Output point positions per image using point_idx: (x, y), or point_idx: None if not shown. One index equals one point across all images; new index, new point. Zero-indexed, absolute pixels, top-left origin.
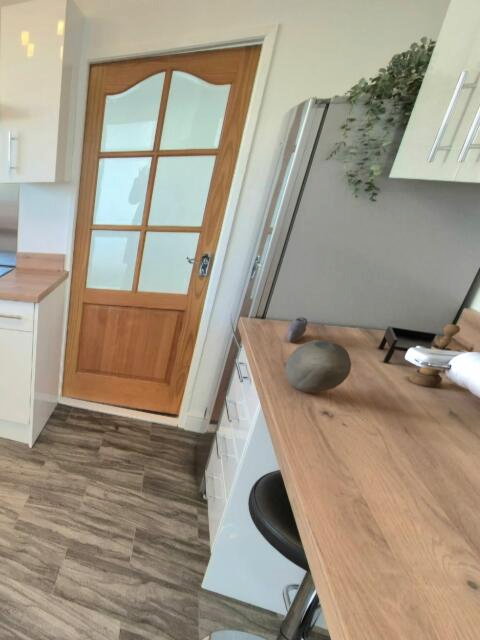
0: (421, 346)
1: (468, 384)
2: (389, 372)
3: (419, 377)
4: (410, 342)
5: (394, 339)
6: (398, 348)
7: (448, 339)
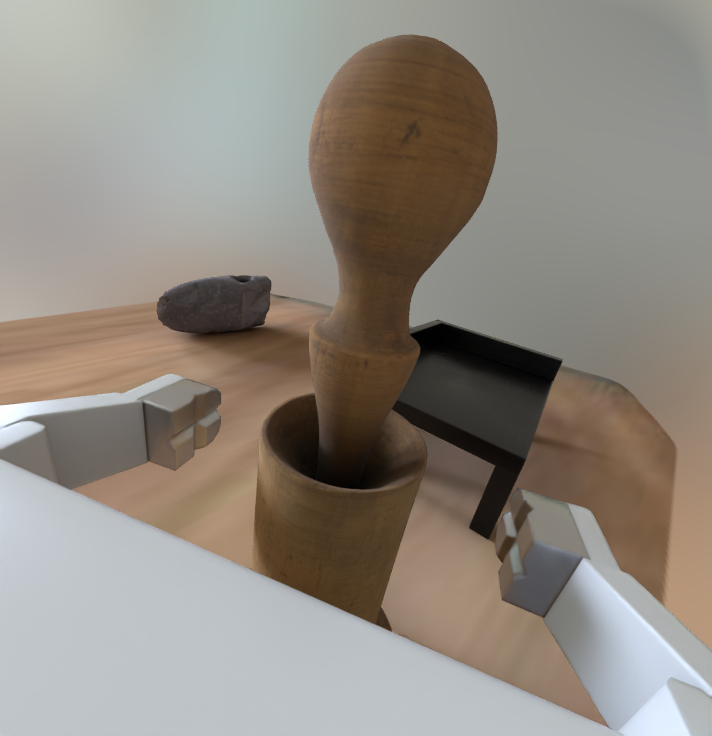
0: (186, 385)
1: None
2: (240, 519)
3: None
4: (452, 376)
5: None
6: None
7: (355, 324)
